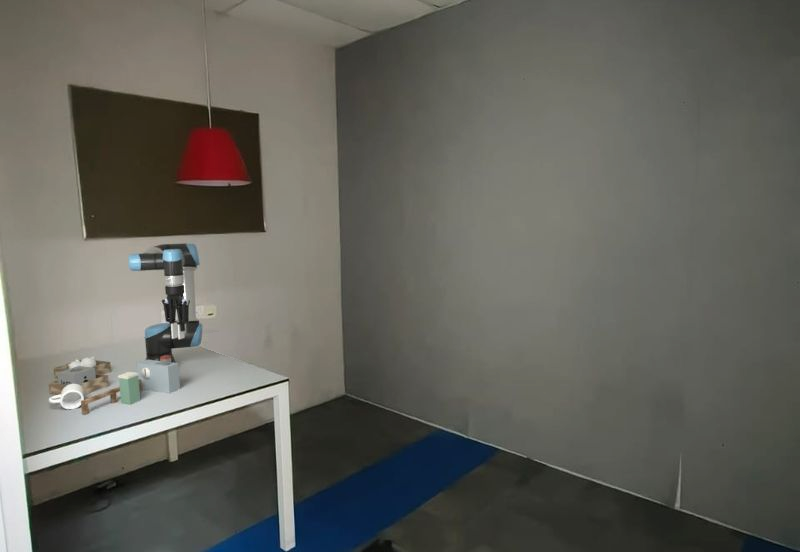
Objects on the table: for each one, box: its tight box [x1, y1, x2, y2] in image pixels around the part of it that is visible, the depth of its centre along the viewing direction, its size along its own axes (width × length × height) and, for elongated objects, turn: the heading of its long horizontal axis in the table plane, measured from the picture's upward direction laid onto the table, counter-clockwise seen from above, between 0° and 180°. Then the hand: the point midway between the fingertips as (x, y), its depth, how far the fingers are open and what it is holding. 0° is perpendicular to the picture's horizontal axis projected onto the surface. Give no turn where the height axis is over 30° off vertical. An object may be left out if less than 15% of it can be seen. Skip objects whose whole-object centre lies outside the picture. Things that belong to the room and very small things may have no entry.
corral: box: [48, 359, 112, 396], centre depth 229 cm, size 32×36×5 cm
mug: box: [48, 384, 85, 411], centre depth 199 cm, size 12×10×8 cm
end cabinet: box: [136, 359, 181, 394], centre depth 217 cm, size 7×18×12 cm, turn 70°
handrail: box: [80, 379, 143, 416], centre depth 203 cm, size 27×2×6 cm, turn 160°
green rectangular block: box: [118, 371, 141, 406], centre depth 203 cm, size 5×5×12 cm
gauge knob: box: [160, 355, 171, 365], centre depth 215 cm, size 3×3×3 cm
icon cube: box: [57, 366, 96, 385], centre depth 216 cm, size 10×10×10 cm
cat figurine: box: [67, 356, 97, 369], centre depth 242 cm, size 9×11×12 cm
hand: (178, 338), depth 211 cm, fingers open, 3 cm apart
